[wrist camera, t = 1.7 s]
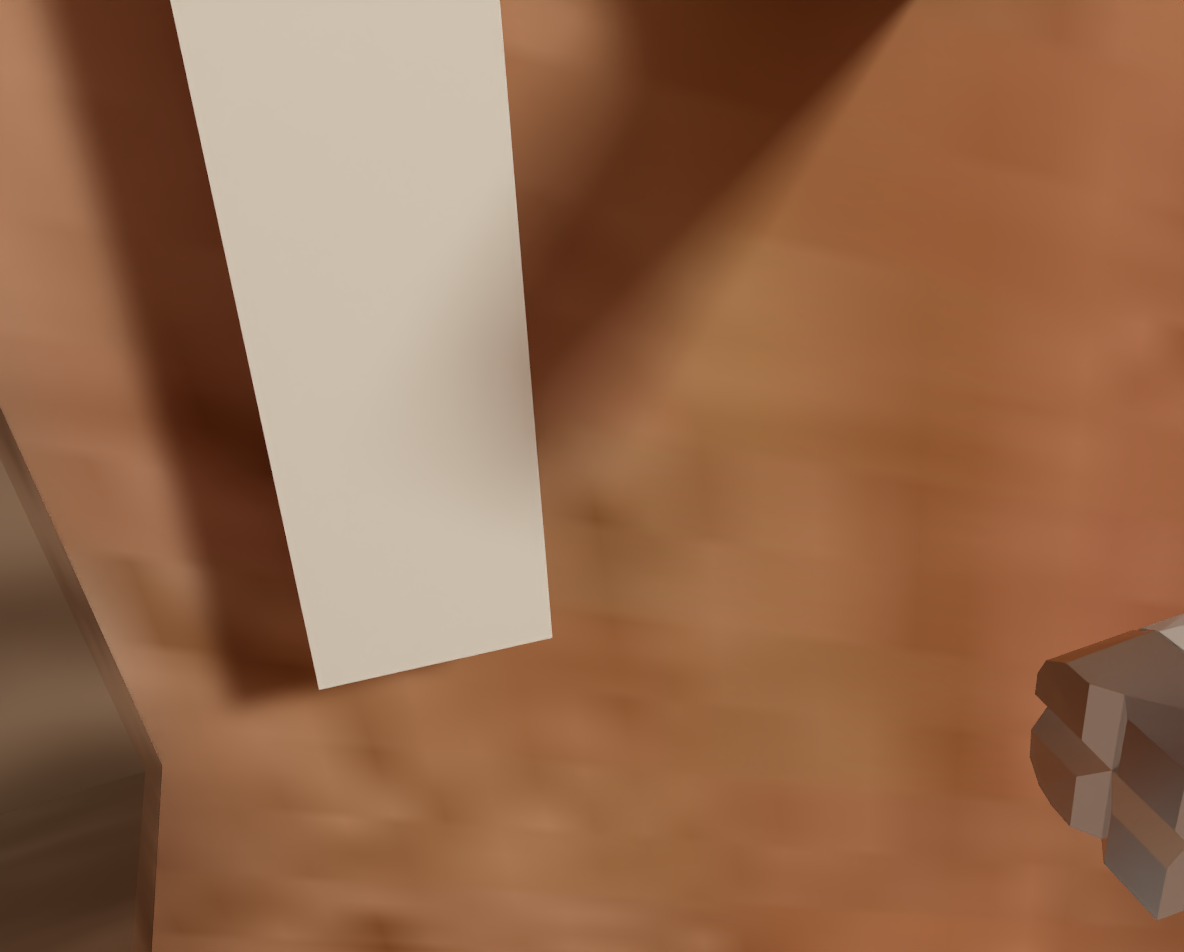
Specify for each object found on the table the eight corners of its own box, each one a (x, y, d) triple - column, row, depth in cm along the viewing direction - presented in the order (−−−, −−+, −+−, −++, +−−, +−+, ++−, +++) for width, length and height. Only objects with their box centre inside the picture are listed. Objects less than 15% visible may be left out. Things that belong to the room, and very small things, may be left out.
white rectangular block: (516, 558, 32) (552, 637, 29) (307, 601, 31) (319, 689, 27) (436, -265, 22) (475, -291, 19) (125, -257, 21) (108, -284, 18)
